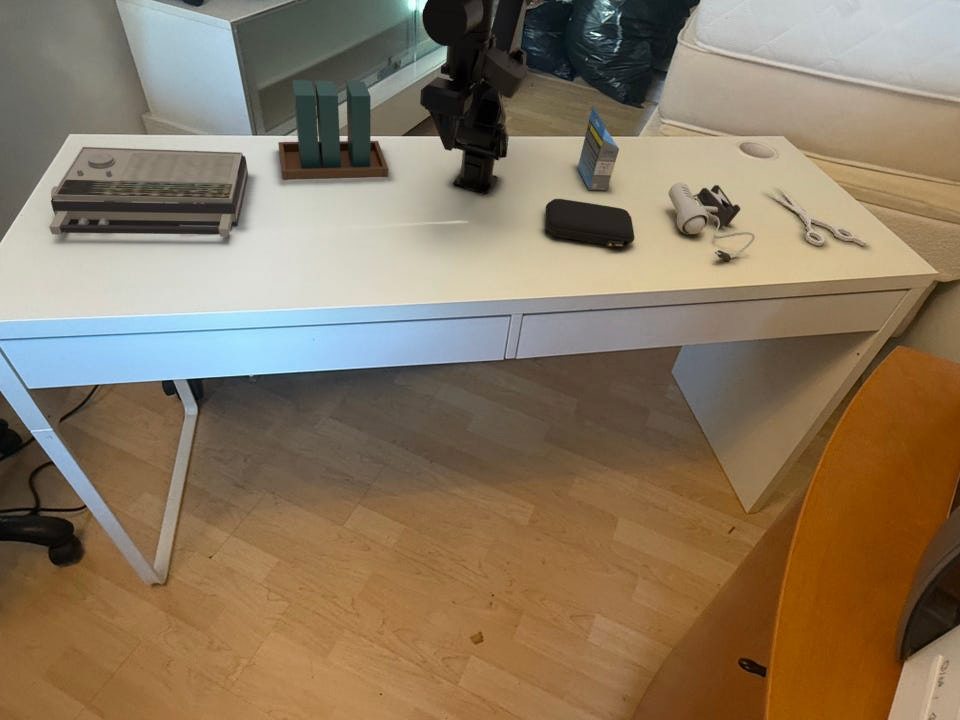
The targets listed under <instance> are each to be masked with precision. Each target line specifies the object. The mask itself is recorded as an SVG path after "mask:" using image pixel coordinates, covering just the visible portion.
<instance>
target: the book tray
mask: <svg viewBox="0 0 960 720" xmlns="http://www.w3.org/2000/svg"><path fill="white" fill-rule="evenodd" d="M277 146H278V153H279V160H280V169H281V177H282V180H283V181H289V180H290V181H295V180H327V179H330V180H331V179H358V178H359V179H362V178H365V179H366V178H388V177H389V167H388V164H387V162H386V158H385V156H384V153H383V151H382V148H381V145H380V142H379V140H370V167H352V165H351V162H350V159H349V156H348V140H340V159H341V168H322V163H321V159H320V151H319V162H320V168H309V169H302V168H301V163H300V157H299V146H298V141H278V145H277ZM318 147H319V141H318Z"/></svg>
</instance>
